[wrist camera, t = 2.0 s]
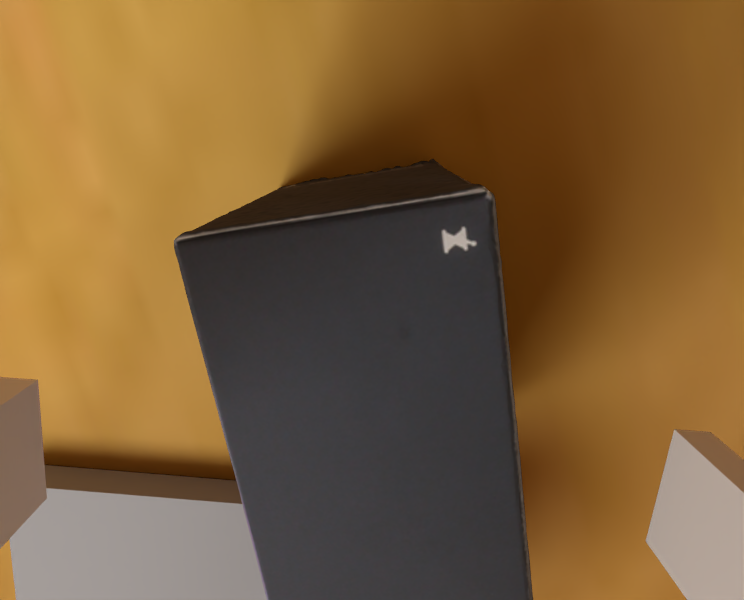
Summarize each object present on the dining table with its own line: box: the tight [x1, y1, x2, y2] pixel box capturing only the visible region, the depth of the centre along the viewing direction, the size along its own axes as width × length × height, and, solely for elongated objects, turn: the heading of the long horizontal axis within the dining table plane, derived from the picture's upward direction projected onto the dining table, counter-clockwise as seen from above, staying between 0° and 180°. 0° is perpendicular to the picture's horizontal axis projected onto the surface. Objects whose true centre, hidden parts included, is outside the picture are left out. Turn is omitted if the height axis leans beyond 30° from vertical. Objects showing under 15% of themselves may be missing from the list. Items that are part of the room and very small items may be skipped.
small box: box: [174, 159, 533, 600], centre depth 16 cm, size 11×6×10 cm, turn 9°
